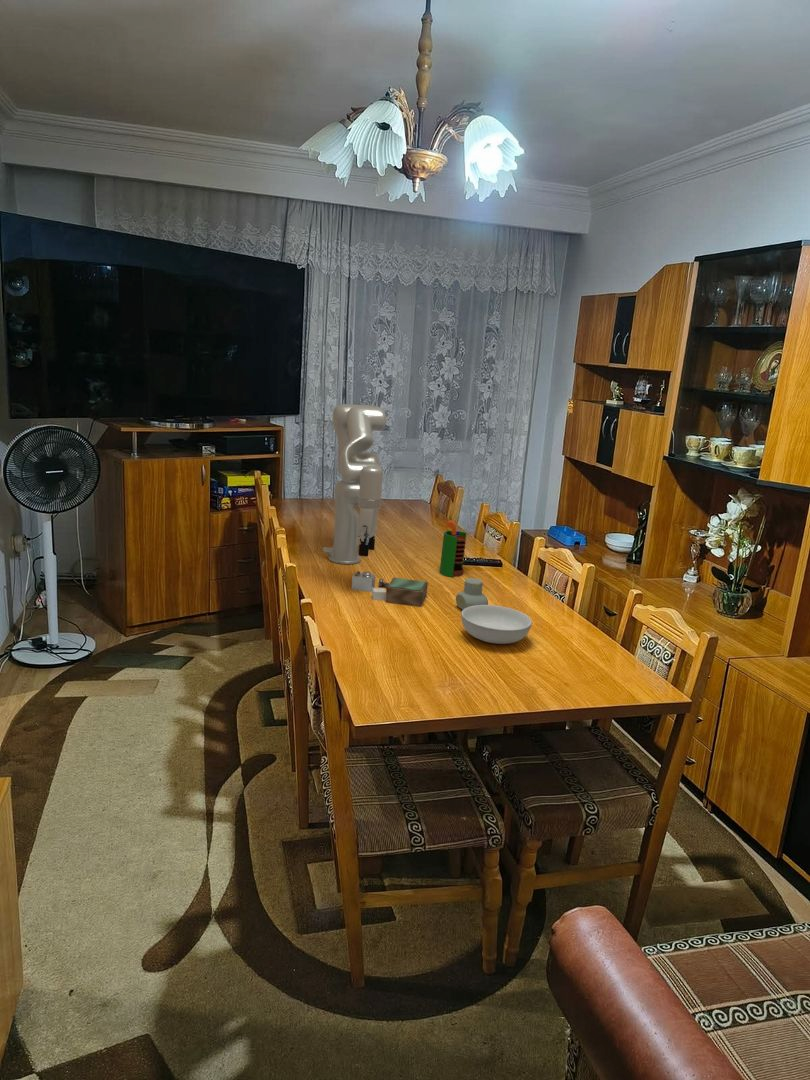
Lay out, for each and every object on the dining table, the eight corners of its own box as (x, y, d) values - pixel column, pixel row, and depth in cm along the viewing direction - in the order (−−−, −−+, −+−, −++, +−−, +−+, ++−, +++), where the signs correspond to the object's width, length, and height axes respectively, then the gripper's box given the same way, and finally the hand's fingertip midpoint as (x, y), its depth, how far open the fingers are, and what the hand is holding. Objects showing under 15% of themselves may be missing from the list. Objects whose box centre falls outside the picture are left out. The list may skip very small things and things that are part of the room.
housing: (351, 589, 256) (352, 573, 255) (355, 585, 261) (356, 569, 260) (371, 592, 255) (372, 575, 254) (374, 588, 260) (375, 571, 259)
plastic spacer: (373, 600, 247) (374, 592, 246) (371, 596, 251) (372, 588, 250) (385, 600, 248) (386, 592, 247) (383, 596, 252) (384, 588, 251)
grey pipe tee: (452, 604, 249) (455, 576, 247) (474, 603, 252) (477, 575, 250) (467, 616, 239) (470, 586, 237) (489, 614, 243) (493, 585, 240)
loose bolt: (378, 587, 261) (379, 580, 260) (380, 584, 264) (380, 578, 263) (395, 589, 260) (395, 582, 259) (396, 587, 263) (397, 580, 262)
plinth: (385, 602, 246) (386, 586, 245) (392, 591, 258) (393, 576, 256) (421, 606, 244) (422, 591, 243) (426, 595, 256) (427, 581, 255)
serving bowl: (484, 655, 209) (486, 632, 207) (446, 629, 227) (448, 607, 225) (543, 647, 218) (546, 625, 217) (502, 622, 236) (505, 602, 235)
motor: (461, 578, 279) (466, 526, 274) (437, 575, 281) (442, 523, 276) (464, 571, 289) (469, 521, 284) (441, 568, 290) (446, 518, 286)
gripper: (364, 498, 260) (361, 546, 263) (352, 506, 243) (349, 557, 247) (385, 500, 258) (382, 548, 262) (375, 508, 242) (371, 559, 246)
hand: (366, 552), depth 254 cm, fingers open, 9 cm apart
